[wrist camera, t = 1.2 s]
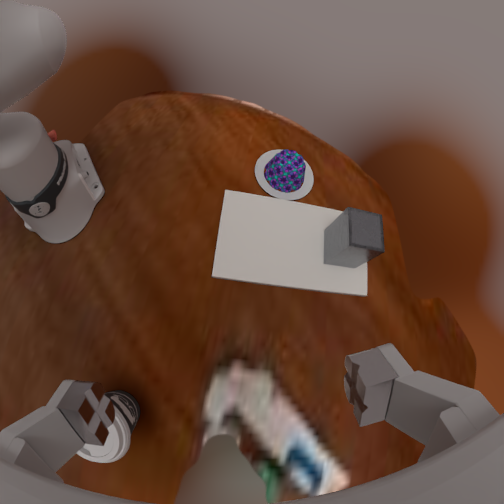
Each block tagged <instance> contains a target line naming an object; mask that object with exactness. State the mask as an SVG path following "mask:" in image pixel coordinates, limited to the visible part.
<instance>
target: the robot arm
mask: <svg viewBox="0 0 504 504" xmlns="http://www.w3.org/2000/svg"><path fill="white" fill-rule="evenodd" d="M66 43H67V37H66V30H65V26H64V25H63V22H62V20H61V19H60V17H59V16H58V15H57V14H56V13H54V12H53V11H52V10H50V9H48V8H45V7H41V6H32V5H26V4H22V3H19V2H17V1H14V0H0V190H1V191H2V192H3V193H4V194H5V196H6V198H7V200H8V201H9V202H10V203H11V205H12V206H13V207H14V209H15V211H16V212H17V213H18V214H19V215H20V217H21V218H22V219H23V220H24V221H25V227H26V228H27V229H28V230H30V231H33V232H36V233H37V234H38V235H39V236H40V237H41V238H42V239H44V240H45V241H47V242H50V243H62V242H65V241H68V240H70V239H71V238H73V237H74V236H76V235H77V234H78V233H79V232H80V231H81V230H82V229H83V228H84V227H85V225H86V224H87V222H88V221H89V219H90V217H91V215H92V212H93V209H94V207H95V205H96V204H97V203H98V201H99V200H100V199H101V198H102V197H103V195H104V193H105V190H104V188H103V185H102V183H101V181H100V179H99V177H98V174H97V172H96V170H95V167H94V165H93V163H92V160H91V158H90V156H89V153H88V151H87V148H86V147H85V145H84V144H81V143H77V144H72V143H71V142H70V141H69V140H60V141H57V142H54V143H53V142H52V141H56V140H57V134H56V132H55V130H52V131H50V132H49V133H47V132H46V130H45V129H44V127H43V125H42V123H41V122H40V120H39V119H38V118H36V117H35V116H34V115H32V114H29V113H26V112H12V113H1V112H2V111H3V110H5V109H6V108H8V107H10V106H11V105H13V104H14V103H16V102H17V101H19V100H21V99H22V98H24V97H25V96H27V95H28V94H29V93H31V92H32V91H33V90H34V89H36V88H37V87H38V86H40V85H41V84H42V83H43V82H44V81H46V80H47V79H48V78H50V77H51V76H52V75H54V74H55V73H56V72H57V71H58V69H59V67H60V65H61V63H62V60H63V57H64V54H65V50H66ZM97 186H98V187H97ZM95 187H97V188H96V189H95ZM345 367H346V369H347V371H348V372H347V373H346V375H345V376H344V385H345V392H346V395H347V398H348V401H349V403H351V404H353V405H354V414H355V417H356V419H357V421H358V424H359V426H360V427H362V426H365V425H369V424H372V423H376V422H379V421H382V420H385V419H386V420H385V421H387V422H388V423H390V424H391V425H393V426H395V427H396V428H398V429H399V430H401V431H403V432H404V433H406V434H408V435H409V436H411V437H413V438H414V439H416V440H418V441H419V442H421V443H423V444H424V445H426V446H425V448H424V450H423V452H422V454H421V456H420V458H419V460H418V463H417V464H415V465H412V466H410V467H408V468H405V469H403V470H400V471H398V472H395V473H393V474H390V475H388V476H385V477H382V478H379V479H376V480H374V481H371V482H367V483H364V484H361V485H358V486H354V487H351V488H347V489H344V490H340V491H336V492H332V493H328V494H324V495H319V496H314V497H309V498H304V499H298V500H292V501H286V502H279V503H271V504H504V413H503V414H502V415H499V414H498V412H497V411H496V410H495V409H494V408H493V406H492V405H491V404H490V403H489V402H488V401H487V399H486V398H485V397H484V396H483V395H482V394H481V393H480V391H478V390H474V389H471V388H468V387H465V386H462V385H459V384H456V383H453V382H450V381H447V380H444V379H441V378H438V377H435V376H432V375H429V374H427V373H424V372H421V371H416V372H414V371H413V370H412V368H411V367H410V366H409V364H408V363H407V362H406V361H405V359H404V358H403V357H402V356H401V354H400V353H399V352H398V351H397V349H396V348H395V347H394V346H393V344H391V343H388V344H385V345H382V346H379V347H376V348H373V349H369V350H366V351H362V352H358V353H355V354H351V355H347V356H346V358H345ZM104 394H105V389H104V388H103V386H102V385H101V383H98V382H91V381H79V380H76V381H75V380H64V381H63V382H62V383H61V385H60V386H59V387H58V389H57V390H56V392H55V393H54V395H53V396H52V398H51V399H50V401H49V402H48V404H47V405H46V407H45V406H42V407H41V408H39V409H37V410H36V411H34V412H32V413H30V414H29V415H27V416H25V417H24V418H22V419H20V420H19V421H17V422H15V423H14V424H12V425H10V426H8V427H7V428H5V429H3V430H2V431H1V432H0V504H155V503H147V502H140V501H134V500H128V499H122V498H117V497H112V496H107V495H103V494H99V493H95V492H91V491H87V490H83V489H80V488H76V487H73V486H70V485H67V484H64V482H63V480H62V479H61V478H60V477H59V476H58V475H57V474H56V473H55V472H56V471H57V470H58V469H60V468H61V467H62V466H63V465H64V464H65V463H66V462H67V461H68V460H69V459H70V458H71V457H73V456H74V455H75V454H76V453H77V452H78V451H79V450H80V449H81V448H82V447H83V446H84V445H85V444H91V445H99V446H104V444H105V442H106V439H107V437H108V434H109V431H108V427H109V426H111V425H112V424H113V422H114V419H115V409H114V405H113V403H112V402H111V400H110V399H109V398H108V397H106V396H105V395H104Z"/></svg>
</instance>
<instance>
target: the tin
mask: <svg viewBox="0 0 504 504" xmlns="http://www.w3.org/2000/svg"><path fill="white" fill-rule="evenodd" d="M382 253H384V237H383V223H382V215H380V214H376V213H372V212H368V211H363V210H359V209H355V208H350V207H347V208H346V209H345V210H344V211H343V212H342V213H341V214H340V215H339V216H338V217H337V218H336V219H335V220H334V221H333V222H332V223H331V224H330V225H329V226H328V227H327V228H326V229H325V230H324V263H323V264H328V265H335V266H342V267H349V268H356V267H358V266H360V265H362V264H364V263H366V262H368V261H369V260H371V259H373V258H375V257H377V256H378V255H380V254H382Z"/></svg>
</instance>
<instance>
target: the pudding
mask: <svg viewBox="0 0 504 504" xmlns="http://www.w3.org/2000/svg"><path fill="white" fill-rule="evenodd" d="M265 165H266V167H265ZM264 167H265V168H266V172H265V173H264ZM255 176H256V179H257V181H258V183H259V185H260V186H261V187H262V188H263V189H264V190H265V191H266V192H267V193H269V194H270V195H272V196H274V197H276V198H279V199H283V200H296V199H300V198H302V197H304V196H305V195H307V194H308V193H309V192H310V190H311V189H312V186H313V181H314V178H313V173H312V170H311V168H310V166H309V165H308V163H307V162H306V161H305V160H304V159H303V157H302V156H301V155H299V154H297V152H296V151H293V150H290V151H289V150H272V151H268V152H266V153H264V154H263V155H262V156H261V157H260V158H259V159H258V161H257V162H256V165H255ZM264 176H265V177H264ZM265 178H266V180H268V181H270V185H271V186H270V185H269V184H268V183H267V181H266V180H265ZM303 181H304V183H303V185H302V187H301V183H302V182H303ZM300 187H301V188H300ZM299 188H300V189H299ZM275 189H280V190H281V191H282V192H280V191H277V190H275ZM298 189H299V190H298ZM291 190H295V192H291V193H288V192H290V191H291ZM296 190H297V191H296ZM284 192H285V193H284Z"/></svg>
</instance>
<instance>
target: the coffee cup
mask: <svg viewBox="0 0 504 504" xmlns="http://www.w3.org/2000/svg"><path fill="white" fill-rule="evenodd" d="M104 395H105V396H106V397H108V398H109V399H110V400H111V402H112V403H113V405H114V409H115V419H114V422H113V424H112V425H111V426H109V427H108V431H109V434H108V437H107V439H106V442H105V444H104V446H99V445H91V444H85V445H84V446H83V447H82V448H81V449H80V450H79V451H78V452H77V454H78V455H80V456H81V457H83V458H85V459H87V460H90V461H93V462H100V463H109V462H113V461H116V460H118V459H120V458H122V457H123V456H124V455H125V454H126V452H127V451H128V448H129V445H130V435H131V433H132V431H133V429H134V427H135V425H136V423H137V421H138V419H139V417H140V407H139V404H138V402H137V401H136V399H135V398H134V397H133V396H132V395H131V394H129V393H127V392H125V391H121V390H116V391H111V392H107V393H105V394H104Z"/></svg>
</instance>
